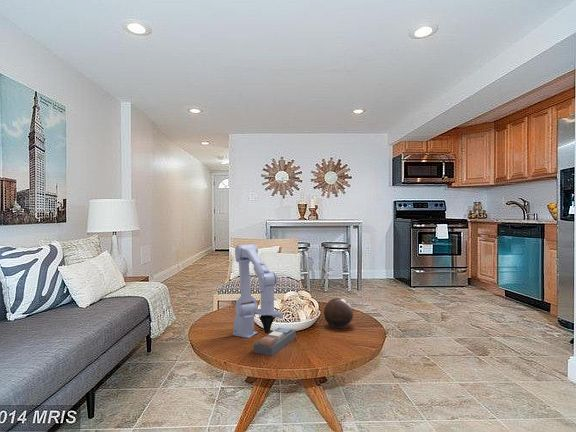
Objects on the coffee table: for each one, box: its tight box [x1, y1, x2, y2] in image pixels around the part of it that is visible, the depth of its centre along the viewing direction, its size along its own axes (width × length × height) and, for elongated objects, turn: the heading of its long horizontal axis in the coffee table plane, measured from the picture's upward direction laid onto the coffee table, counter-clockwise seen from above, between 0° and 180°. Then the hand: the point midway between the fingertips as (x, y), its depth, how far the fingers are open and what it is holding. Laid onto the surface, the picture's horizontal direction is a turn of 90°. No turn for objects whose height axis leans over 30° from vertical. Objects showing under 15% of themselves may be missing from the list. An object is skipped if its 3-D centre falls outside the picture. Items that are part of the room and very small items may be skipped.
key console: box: [253, 327, 297, 357], centre depth 156 cm, size 9×24×4 cm, turn 154°
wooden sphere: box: [323, 297, 354, 329], centre depth 180 cm, size 15×15×15 cm
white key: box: [267, 330, 283, 340], centre depth 156 cm, size 5×5×2 cm
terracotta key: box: [258, 336, 275, 346], centre depth 149 cm, size 5×5×2 cm
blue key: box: [277, 327, 292, 334], centre depth 164 cm, size 5×5×2 cm
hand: (267, 332), depth 149 cm, fingers closed
